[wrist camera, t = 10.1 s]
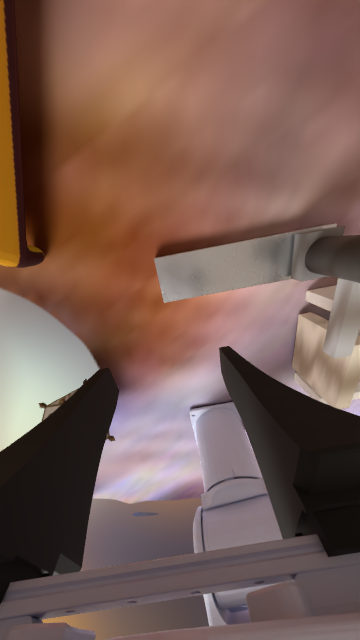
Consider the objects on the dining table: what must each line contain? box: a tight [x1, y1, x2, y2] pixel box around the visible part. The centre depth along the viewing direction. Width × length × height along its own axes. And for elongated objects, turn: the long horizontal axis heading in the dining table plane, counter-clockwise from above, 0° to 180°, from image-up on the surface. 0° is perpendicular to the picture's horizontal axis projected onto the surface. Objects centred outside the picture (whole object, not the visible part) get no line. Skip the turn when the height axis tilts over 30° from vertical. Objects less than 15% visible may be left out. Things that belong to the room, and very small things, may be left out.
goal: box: [294, 285, 360, 404], centre depth 19 cm, size 13×9×6 cm
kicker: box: [291, 226, 360, 409], centre depth 16 cm, size 17×4×9 cm, turn 10°
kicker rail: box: [154, 223, 337, 303], centre depth 17 cm, size 4×17×1 cm, turn 100°
